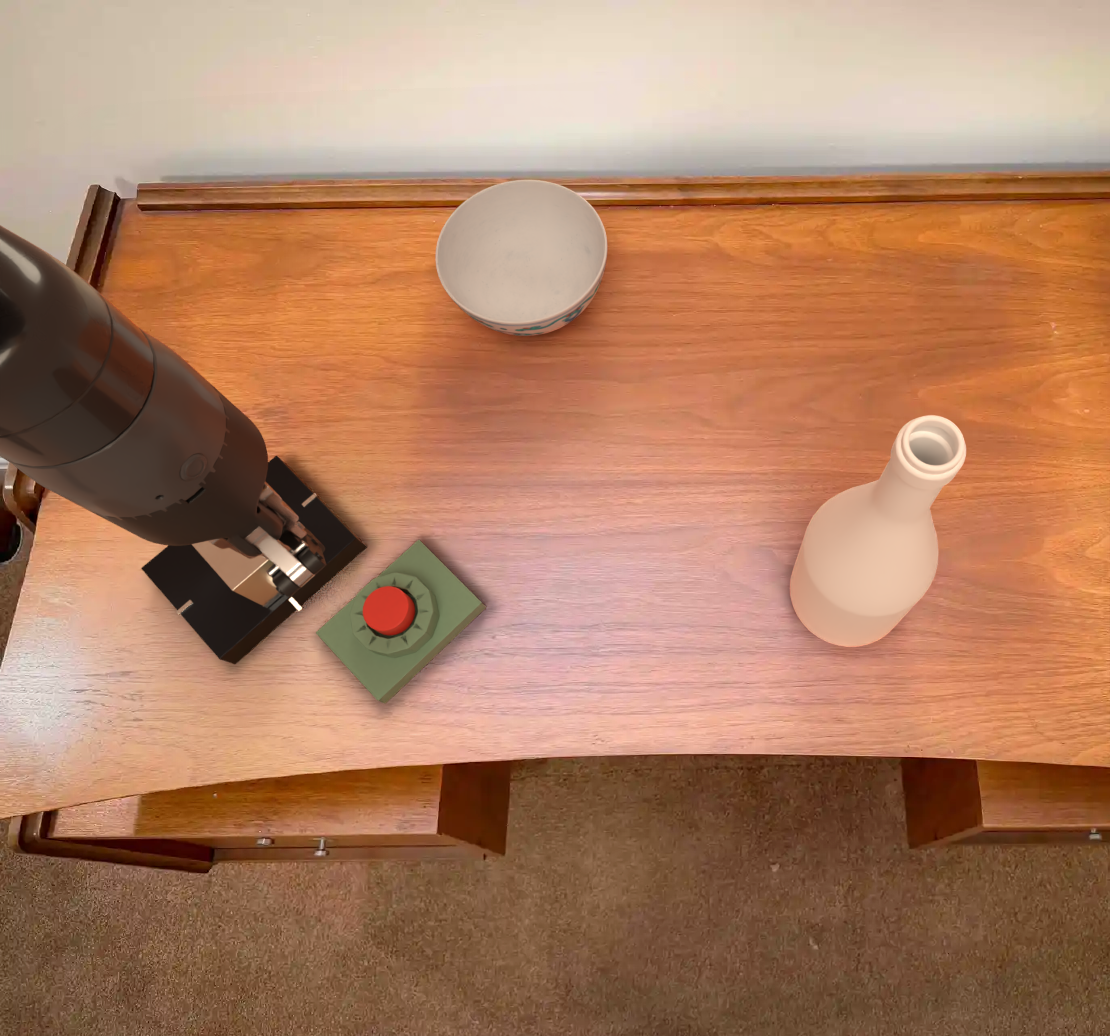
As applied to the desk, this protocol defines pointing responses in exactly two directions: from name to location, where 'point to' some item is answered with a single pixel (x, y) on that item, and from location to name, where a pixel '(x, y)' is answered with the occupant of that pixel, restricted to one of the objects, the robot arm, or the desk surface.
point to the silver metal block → (241, 572)
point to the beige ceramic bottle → (877, 540)
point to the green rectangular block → (434, 626)
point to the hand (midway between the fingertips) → (306, 553)
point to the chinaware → (522, 256)
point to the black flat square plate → (231, 616)
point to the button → (388, 610)
